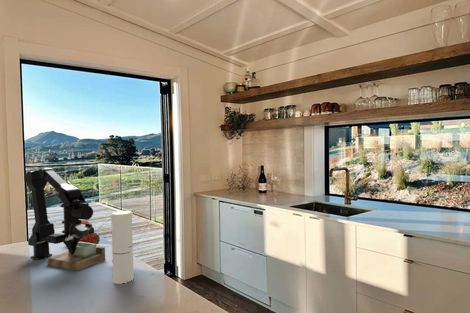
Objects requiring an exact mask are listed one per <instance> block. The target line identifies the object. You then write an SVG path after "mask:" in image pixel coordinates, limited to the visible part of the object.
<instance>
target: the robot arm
mask: <svg viewBox="0 0 470 313" xmlns="http://www.w3.org/2000/svg"><path fill="white" fill-rule="evenodd" d="M23 178H24V182H25V184H26V186H27V188H28V189H29V190H30V191H31V198H32V199H31V200H32V205H33V213H34V220H35V221H34V222H35V223H34V224H33V227H32V228H31V235H30V237H29V238H28V240H27V243H28V244H27V245H28V246H32V249H33V250H32V251H33V255H30V259H34V260H43V259H45V258H49V257H52V256H53V253H50V244H53V245H55V244H57V245H58V244H60V243H63V244H64V245H65V247H66V248H67V251H68V250H69V252H70V254H71V255H73V254H74V253H75V250H76V247H77V244H78V242H79V240H81V239H82V238H83V237H84V236H88V234H93V233H95V228H94V226H93V223H91V222H89V223H87V224H84V225H83V224H82V221H88V220H90V219H92V217H93V215H94V209H93V208H92V206H90V204H89V202H86V199H85V197H84V195H83V194H82V192H81V189H80V188H78V187H77V186H75V185H72V184H69V183H67V182H66V181H65V180H64V178H62V177H61V176H60V175H59V174H58V173H57V172H56V170H55V169H54V168H52V167H45V168H44V167H43V168H40V169H37V170H31V171H30V170H29V171H27V172H26V174H24V176H23ZM47 184H49V185H50V186H52V188H53V189H54V190H56V191H57V197H58V199H59V200H60V201H61V202H62V204H61V205H60V206H59V207H60V208H63V220H61V224H63V230H61V233H56V232H55V225H54V223H51V222H50V221H49V217H48V211H47V210H48V209H47V203H46V195H45V194H46V193H45V188H46V185H47Z"/></svg>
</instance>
